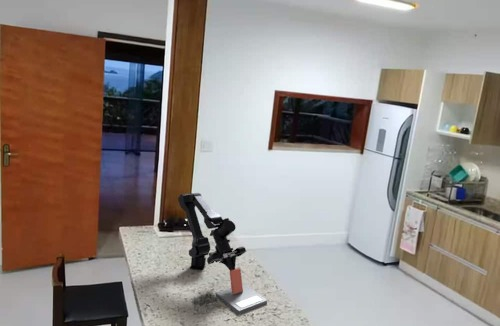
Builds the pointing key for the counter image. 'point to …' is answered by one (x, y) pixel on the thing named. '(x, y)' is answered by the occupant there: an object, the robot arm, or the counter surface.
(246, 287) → the base
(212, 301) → the grey lumpy stone piece
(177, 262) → the counter surface
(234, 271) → the lever
